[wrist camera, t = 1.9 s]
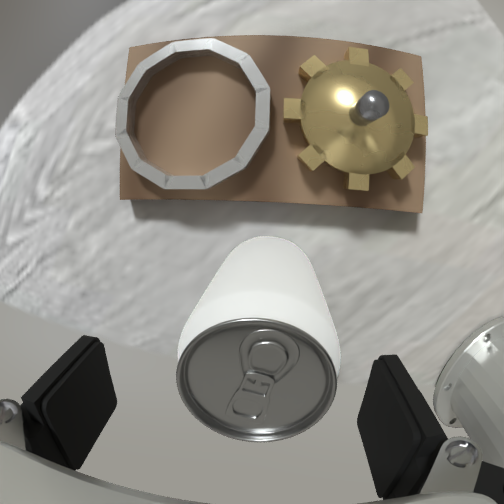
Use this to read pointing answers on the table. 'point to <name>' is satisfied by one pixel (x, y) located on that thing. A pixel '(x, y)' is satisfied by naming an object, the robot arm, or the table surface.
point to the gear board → (243, 121)
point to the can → (260, 346)
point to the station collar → (156, 64)
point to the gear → (355, 118)
